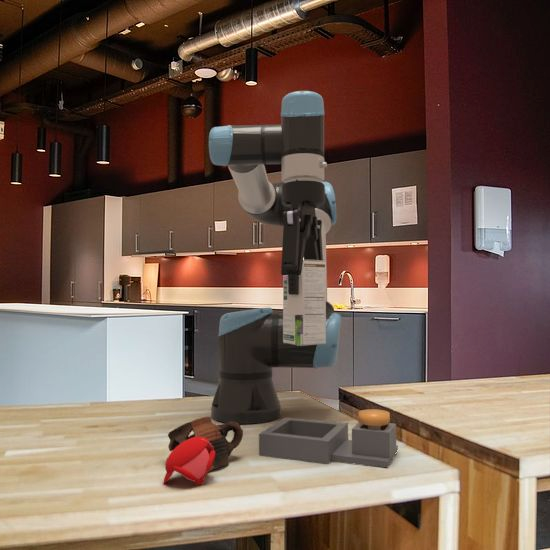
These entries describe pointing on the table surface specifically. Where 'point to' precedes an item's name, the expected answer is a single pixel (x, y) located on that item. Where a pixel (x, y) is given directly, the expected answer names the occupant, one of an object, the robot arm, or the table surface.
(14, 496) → the table surface
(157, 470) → the table surface
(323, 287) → the syrup box
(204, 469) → the cap
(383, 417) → the plunger
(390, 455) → the grey rectangular open-box piece
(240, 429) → the pottery mug
